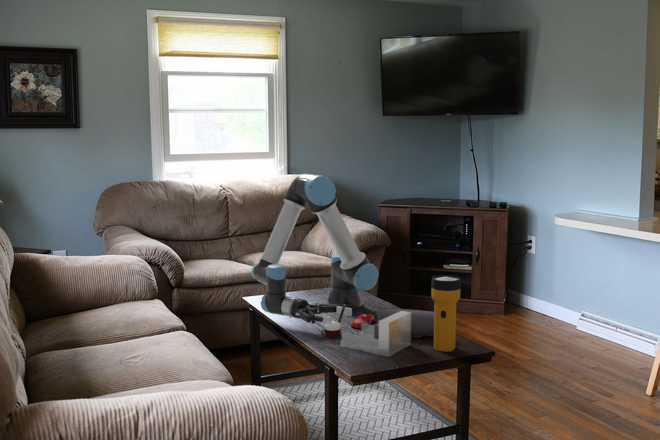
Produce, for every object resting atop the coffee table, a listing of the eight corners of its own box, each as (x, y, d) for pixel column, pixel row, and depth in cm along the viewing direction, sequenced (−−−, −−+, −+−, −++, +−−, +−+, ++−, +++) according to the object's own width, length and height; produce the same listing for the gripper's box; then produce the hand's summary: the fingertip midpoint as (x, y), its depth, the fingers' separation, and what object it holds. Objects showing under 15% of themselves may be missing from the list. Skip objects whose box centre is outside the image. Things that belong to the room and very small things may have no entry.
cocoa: (321, 341, 253) (319, 309, 251) (322, 335, 259) (320, 304, 257) (347, 340, 253) (345, 308, 251) (347, 334, 259) (345, 303, 257)
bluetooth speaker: (439, 333, 260) (439, 308, 258) (437, 341, 251) (438, 314, 249) (379, 330, 264) (379, 305, 263) (376, 337, 255) (376, 311, 254)
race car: (360, 330, 265) (360, 320, 265) (348, 328, 268) (348, 318, 268) (376, 322, 276) (376, 312, 276) (365, 320, 279) (365, 310, 279)
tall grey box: (379, 338, 247) (380, 322, 246) (387, 339, 245) (387, 323, 244) (374, 341, 244) (374, 324, 243) (381, 342, 242) (381, 326, 241)
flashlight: (462, 275, 242) (457, 281, 233) (461, 345, 245) (456, 354, 236) (435, 273, 245) (428, 278, 236) (433, 342, 249) (427, 351, 240)
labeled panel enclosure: (363, 335, 258) (363, 304, 257) (410, 344, 247) (411, 312, 245) (340, 346, 245) (340, 314, 244) (388, 356, 234) (388, 322, 232)
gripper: (314, 310, 276) (359, 318, 264) (275, 324, 256) (321, 334, 244) (314, 292, 275) (359, 299, 263) (275, 305, 255) (321, 314, 243)
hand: (341, 316), depth 253 cm, fingers open, 13 cm apart
